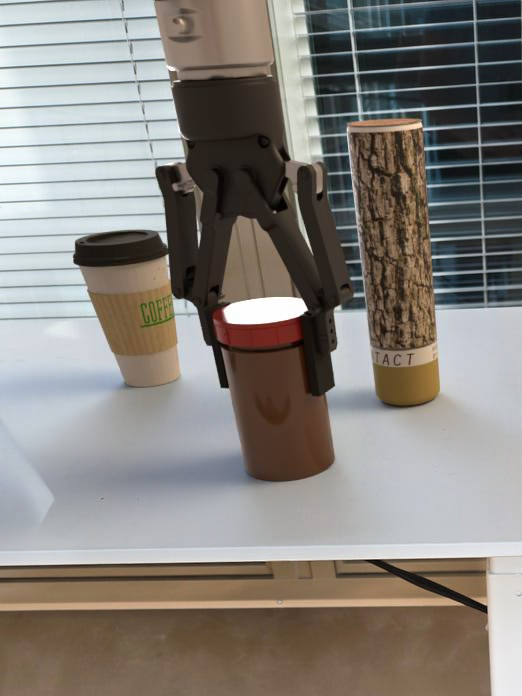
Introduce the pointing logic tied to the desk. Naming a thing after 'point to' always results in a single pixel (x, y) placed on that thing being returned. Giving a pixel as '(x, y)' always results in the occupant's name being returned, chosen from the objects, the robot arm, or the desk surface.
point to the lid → (260, 322)
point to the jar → (278, 412)
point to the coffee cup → (132, 302)
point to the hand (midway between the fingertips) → (277, 386)
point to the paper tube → (395, 257)
